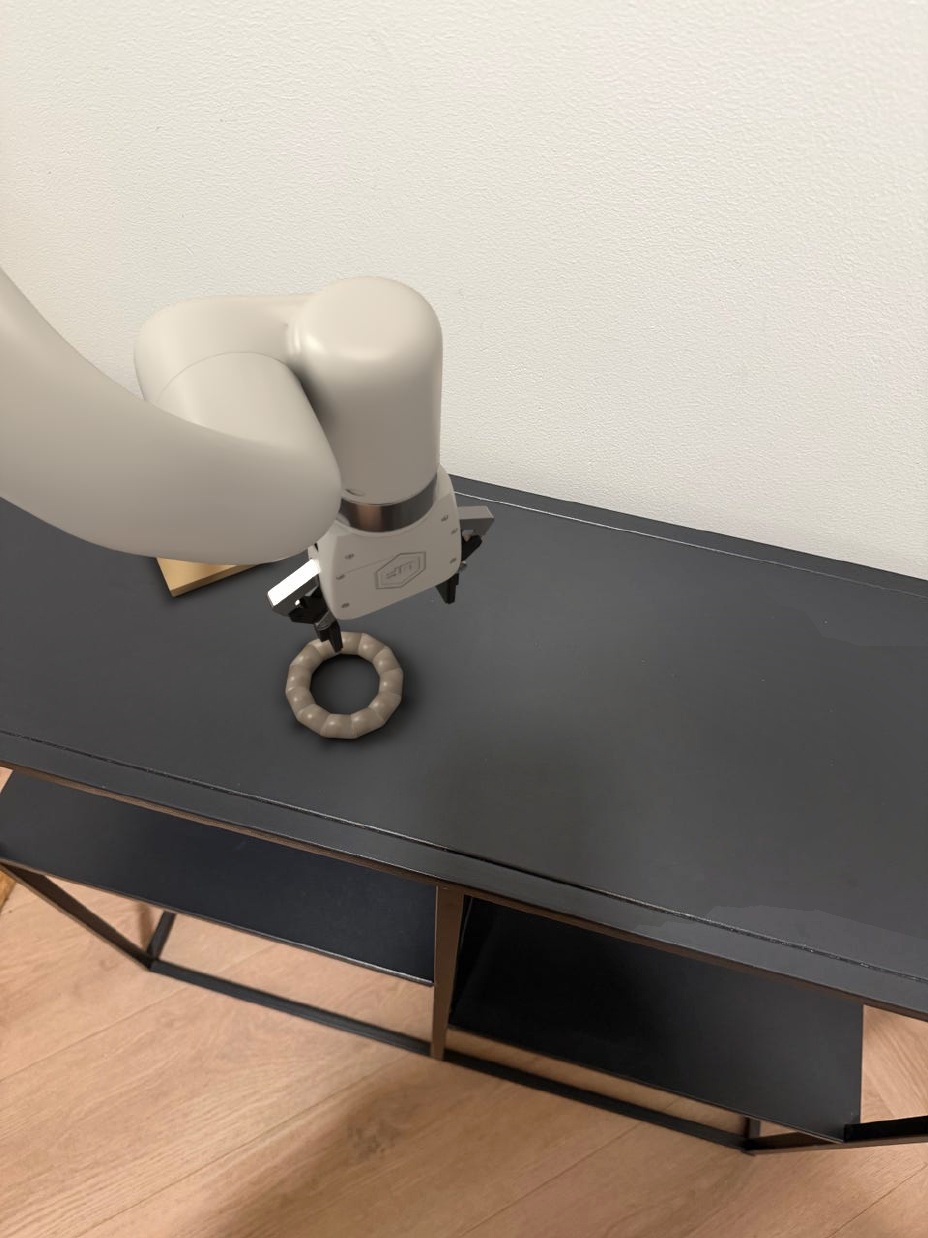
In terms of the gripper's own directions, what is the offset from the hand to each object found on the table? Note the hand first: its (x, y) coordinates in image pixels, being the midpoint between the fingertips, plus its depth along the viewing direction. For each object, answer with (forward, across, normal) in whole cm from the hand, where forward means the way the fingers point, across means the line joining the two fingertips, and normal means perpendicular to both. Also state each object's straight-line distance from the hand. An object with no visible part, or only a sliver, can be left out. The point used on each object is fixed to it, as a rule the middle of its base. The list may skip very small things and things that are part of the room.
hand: (388, 612), depth 66 cm
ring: (+9, -4, 0) cm, 10 cm away
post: (+10, -10, +20) cm, 25 cm away
